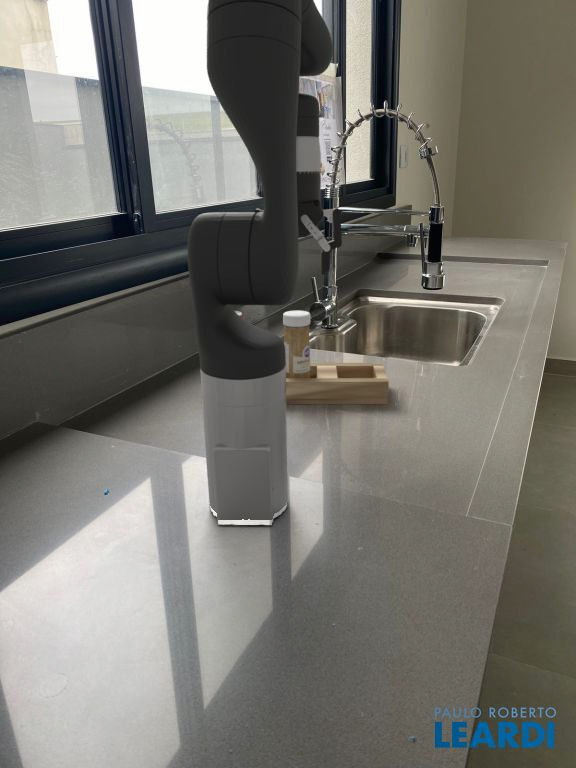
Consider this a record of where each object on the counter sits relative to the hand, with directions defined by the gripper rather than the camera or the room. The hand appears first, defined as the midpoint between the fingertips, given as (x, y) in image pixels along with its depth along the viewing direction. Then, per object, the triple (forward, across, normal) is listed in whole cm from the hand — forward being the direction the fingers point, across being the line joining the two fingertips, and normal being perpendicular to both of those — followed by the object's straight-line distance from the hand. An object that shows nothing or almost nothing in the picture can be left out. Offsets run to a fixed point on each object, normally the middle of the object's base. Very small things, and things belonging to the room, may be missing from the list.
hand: (297, 274), depth 99 cm
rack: (+21, +5, 0) cm, 21 cm away
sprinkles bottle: (+20, 0, 0) cm, 20 cm away
